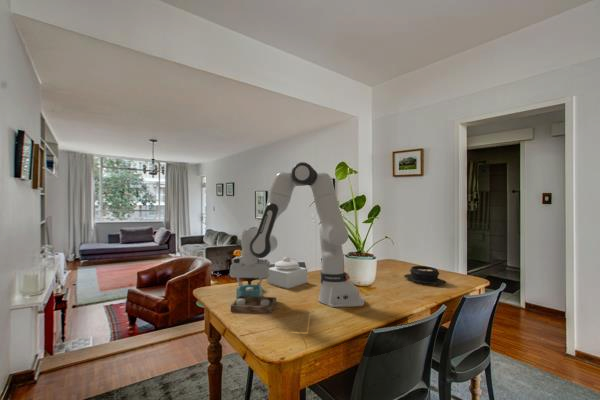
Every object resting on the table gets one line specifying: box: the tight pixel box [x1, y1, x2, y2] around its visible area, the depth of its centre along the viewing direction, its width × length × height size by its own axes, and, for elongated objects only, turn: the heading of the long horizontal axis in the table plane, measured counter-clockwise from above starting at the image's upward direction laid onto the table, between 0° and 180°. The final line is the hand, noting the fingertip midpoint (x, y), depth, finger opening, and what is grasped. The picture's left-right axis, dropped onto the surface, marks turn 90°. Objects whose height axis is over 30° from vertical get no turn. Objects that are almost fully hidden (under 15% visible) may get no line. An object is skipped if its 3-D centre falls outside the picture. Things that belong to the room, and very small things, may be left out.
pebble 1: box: [236, 298, 245, 305], centre depth 129 cm, size 4×4×4 cm
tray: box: [230, 296, 277, 314], centre depth 131 cm, size 18×13×3 cm
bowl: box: [236, 283, 263, 299], centre depth 146 cm, size 12×12×5 cm
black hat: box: [403, 265, 447, 285], centre depth 178 cm, size 25×19×8 cm
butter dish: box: [266, 256, 309, 290], centre depth 173 cm, size 18×18×16 cm
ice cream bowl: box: [242, 278, 257, 285], centre depth 161 cm, size 11×11×15 cm
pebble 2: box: [261, 299, 269, 306], centre depth 128 cm, size 4×4×4 cm
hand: (249, 286), depth 146 cm, fingers open, 8 cm apart
